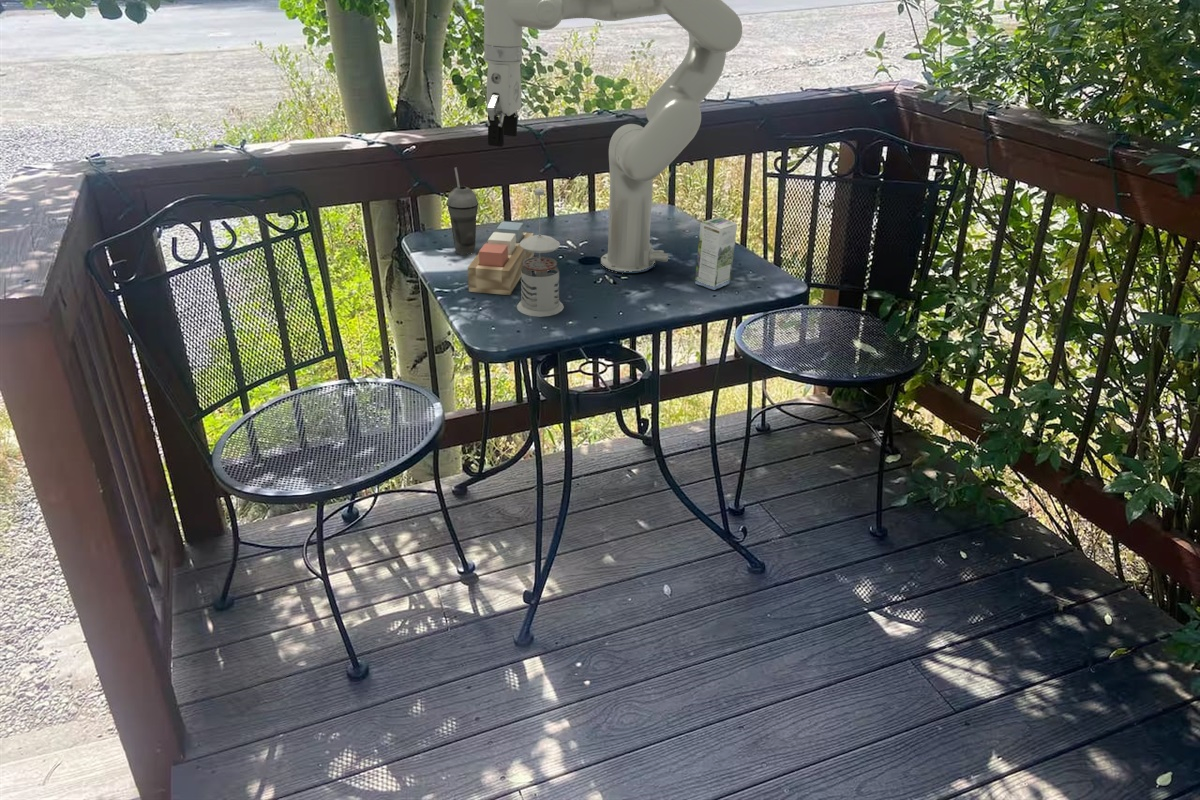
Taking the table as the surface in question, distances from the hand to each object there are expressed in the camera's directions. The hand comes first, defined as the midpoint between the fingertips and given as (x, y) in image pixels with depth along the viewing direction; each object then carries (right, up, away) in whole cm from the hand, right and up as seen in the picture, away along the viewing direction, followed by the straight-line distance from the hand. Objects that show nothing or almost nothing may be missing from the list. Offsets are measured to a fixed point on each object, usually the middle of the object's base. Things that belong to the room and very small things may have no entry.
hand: (502, 140), depth 186 cm
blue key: (0, -18, +18) cm, 26 cm away
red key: (-2, -26, +5) cm, 26 cm away
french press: (+8, -35, -1) cm, 36 cm away
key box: (-1, -26, +14) cm, 29 cm away
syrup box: (+45, -29, +11) cm, 55 cm away
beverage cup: (-12, -19, +25) cm, 34 cm away
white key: (-1, -22, +12) cm, 25 cm away
